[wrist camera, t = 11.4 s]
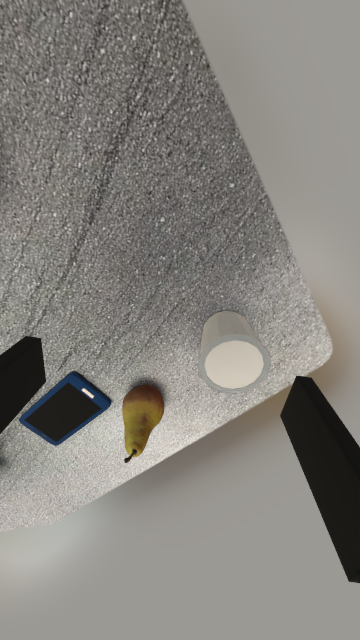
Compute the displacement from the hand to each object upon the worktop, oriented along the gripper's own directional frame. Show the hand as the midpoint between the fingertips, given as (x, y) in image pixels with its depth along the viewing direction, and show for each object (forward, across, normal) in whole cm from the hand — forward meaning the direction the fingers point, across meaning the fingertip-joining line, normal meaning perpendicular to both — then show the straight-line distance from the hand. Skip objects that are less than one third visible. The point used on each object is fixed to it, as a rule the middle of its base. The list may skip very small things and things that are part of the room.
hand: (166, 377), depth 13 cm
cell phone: (+16, -15, -21) cm, 30 cm away
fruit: (+16, -3, -16) cm, 23 cm away
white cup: (+16, +6, -5) cm, 18 cm away
